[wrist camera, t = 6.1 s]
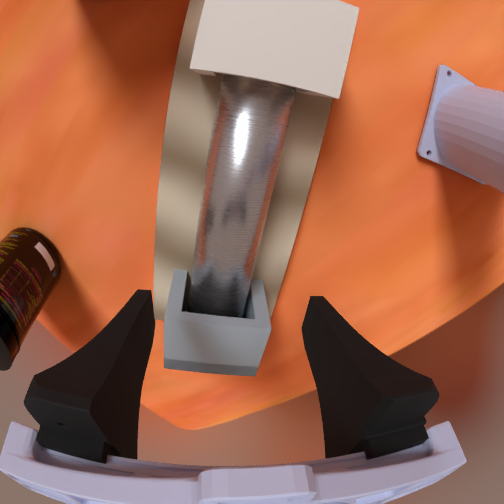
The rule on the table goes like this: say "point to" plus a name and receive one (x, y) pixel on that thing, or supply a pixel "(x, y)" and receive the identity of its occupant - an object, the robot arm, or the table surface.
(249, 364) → the socket
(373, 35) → the table surface
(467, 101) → the robot arm
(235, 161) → the tube
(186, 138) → the board
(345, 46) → the sleeve
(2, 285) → the supplement container
